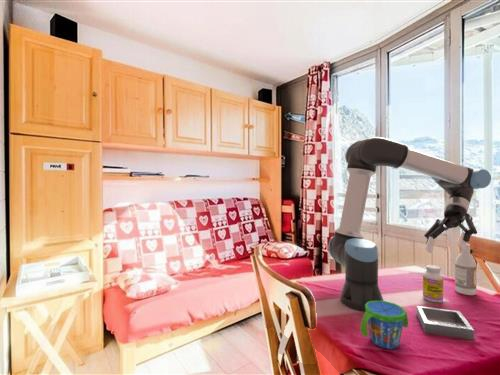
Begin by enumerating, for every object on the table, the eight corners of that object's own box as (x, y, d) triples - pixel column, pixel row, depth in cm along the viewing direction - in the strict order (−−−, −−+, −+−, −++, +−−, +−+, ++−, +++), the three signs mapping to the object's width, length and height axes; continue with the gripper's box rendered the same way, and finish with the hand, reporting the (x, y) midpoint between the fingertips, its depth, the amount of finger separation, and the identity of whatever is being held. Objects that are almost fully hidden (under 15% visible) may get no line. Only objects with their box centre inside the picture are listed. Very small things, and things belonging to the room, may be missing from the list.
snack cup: (394, 329, 88) (394, 297, 88) (422, 348, 78) (422, 312, 77) (350, 336, 84) (349, 303, 84) (373, 358, 74) (373, 320, 74)
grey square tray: (424, 332, 86) (424, 322, 86) (416, 314, 97) (416, 305, 97) (474, 340, 81) (474, 330, 81) (459, 320, 93) (459, 311, 93)
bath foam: (474, 297, 110) (475, 246, 110) (453, 292, 115) (453, 244, 115) (477, 292, 115) (477, 243, 115) (456, 287, 120) (456, 241, 120)
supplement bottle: (424, 301, 107) (424, 268, 107) (421, 294, 113) (421, 263, 113) (445, 304, 105) (445, 270, 104) (440, 297, 111) (441, 265, 111)
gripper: (495, 209, 109) (484, 253, 100) (435, 220, 132) (422, 257, 122) (482, 196, 109) (470, 239, 99) (424, 210, 131) (410, 246, 122)
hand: (443, 249), depth 111 cm, fingers open, 13 cm apart
